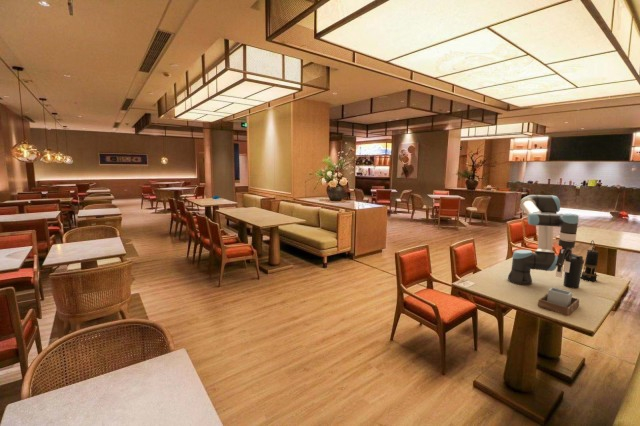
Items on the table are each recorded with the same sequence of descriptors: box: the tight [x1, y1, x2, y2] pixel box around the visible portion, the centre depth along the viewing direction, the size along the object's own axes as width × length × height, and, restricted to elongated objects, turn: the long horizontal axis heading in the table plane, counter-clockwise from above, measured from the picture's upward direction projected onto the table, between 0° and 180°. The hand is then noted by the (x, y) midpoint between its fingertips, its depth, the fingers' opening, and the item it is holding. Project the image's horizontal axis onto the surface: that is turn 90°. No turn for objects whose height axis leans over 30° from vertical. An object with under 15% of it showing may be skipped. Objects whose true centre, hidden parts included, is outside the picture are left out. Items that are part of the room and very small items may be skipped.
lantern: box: [580, 240, 600, 283], centre depth 231 cm, size 9×9×30 cm
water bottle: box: [563, 253, 585, 289], centre depth 219 cm, size 10×10×23 cm
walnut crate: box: [537, 292, 580, 317], centre depth 190 cm, size 20×15×4 cm
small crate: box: [547, 286, 573, 308], centre depth 190 cm, size 7×10×9 cm
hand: (562, 274), depth 187 cm, fingers open, 13 cm apart
